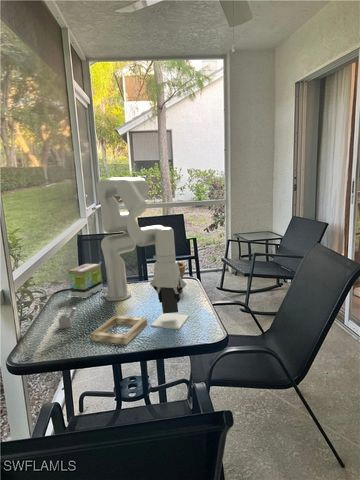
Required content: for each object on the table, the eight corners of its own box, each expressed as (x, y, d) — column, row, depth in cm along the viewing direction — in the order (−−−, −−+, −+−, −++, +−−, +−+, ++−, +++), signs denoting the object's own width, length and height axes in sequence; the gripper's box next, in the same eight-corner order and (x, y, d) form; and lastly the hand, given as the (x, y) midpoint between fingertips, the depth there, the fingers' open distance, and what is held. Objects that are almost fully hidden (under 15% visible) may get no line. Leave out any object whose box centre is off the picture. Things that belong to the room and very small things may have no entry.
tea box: (86, 299, 168) (83, 271, 165) (70, 297, 171) (67, 270, 168) (103, 289, 181) (100, 263, 179) (88, 288, 185) (85, 262, 182)
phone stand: (178, 312, 129) (176, 283, 127) (163, 314, 129) (160, 284, 127) (176, 304, 138) (174, 276, 136) (161, 305, 138) (159, 278, 136)
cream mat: (151, 326, 131) (151, 324, 131) (162, 314, 142) (162, 313, 142) (179, 329, 127) (179, 327, 127) (189, 316, 138) (189, 315, 138)
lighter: (59, 328, 135) (57, 309, 133) (60, 326, 137) (58, 308, 135) (77, 326, 136) (75, 307, 135) (78, 324, 138) (76, 306, 136)
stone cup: (187, 293, 166) (185, 264, 163) (163, 295, 165) (161, 266, 162) (184, 284, 181) (183, 257, 178) (163, 286, 180) (161, 259, 177)
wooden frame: (91, 340, 123) (90, 333, 122) (114, 321, 139) (114, 315, 138) (126, 344, 118) (126, 338, 117) (147, 324, 133) (146, 318, 133)
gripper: (142, 260, 129) (146, 304, 133) (183, 261, 124) (186, 306, 127) (150, 256, 136) (153, 297, 140) (189, 256, 130) (192, 299, 134)
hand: (169, 301), depth 133 cm, fingers closed on phone stand, 6 cm apart
